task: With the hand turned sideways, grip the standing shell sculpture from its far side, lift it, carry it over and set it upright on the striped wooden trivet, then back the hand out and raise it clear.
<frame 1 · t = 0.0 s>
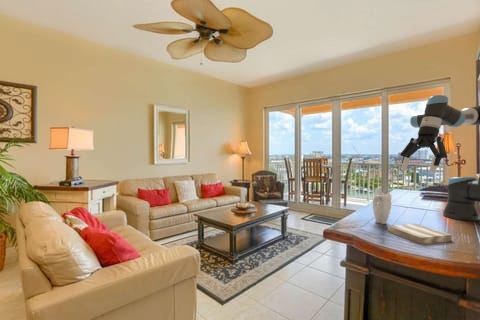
hand: (416, 171, 111), 28 cm above the table, tool tilted 20°, fingers open, 13 cm apart
striped wooden trivet: (417, 235, 106), on the table
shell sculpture: (381, 223, 125), on the table
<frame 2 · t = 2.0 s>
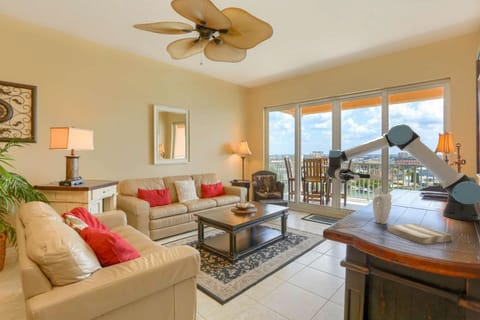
hand: (369, 178, 133), 22 cm above the table, tool horizontal, fingers open, 13 cm apart
nothing on the table moved.
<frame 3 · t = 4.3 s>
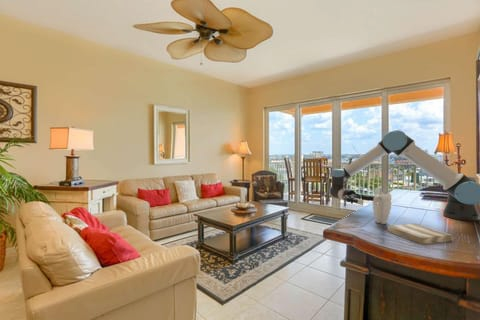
hand: (373, 202, 130), 10 cm above the table, tool horizontal, fingers open, 13 cm apart
nothing on the table moved.
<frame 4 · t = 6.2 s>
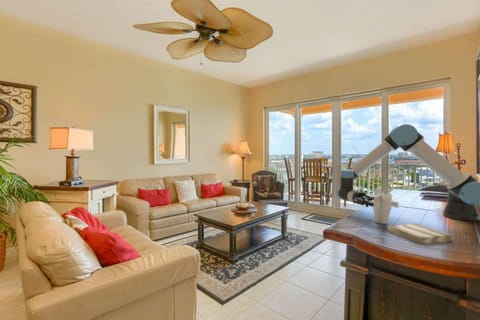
hand: (388, 205, 121), 10 cm above the table, tool horizontal, fingers closed on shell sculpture, 10 cm apart
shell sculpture: (381, 223, 125), on the table, touching gripper
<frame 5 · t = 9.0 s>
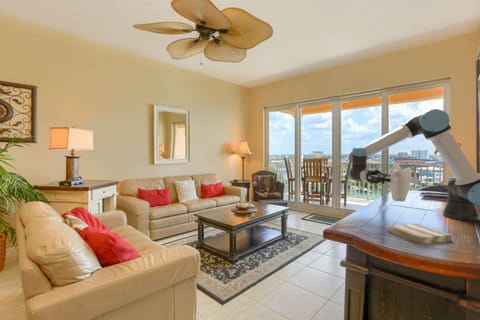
hand: (407, 180, 109), 24 cm above the table, tool horizontal, fingers closed on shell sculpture, 10 cm apart
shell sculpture: (399, 201, 113), point 14 cm above the table, touching gripper
when the fingers open (14 cm above the table, at t = 12.0 s): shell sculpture drops 1 cm, resting on striped wooden trivet.
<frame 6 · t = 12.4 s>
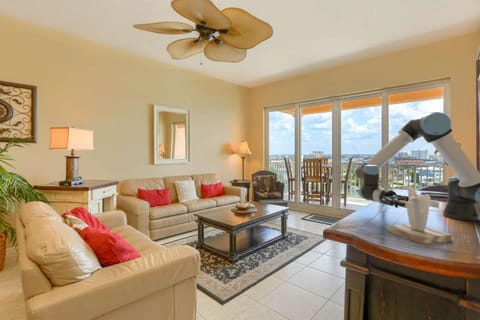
hand: (426, 205, 102), 14 cm above the table, tool horizontal, fingers open, 13 cm apart
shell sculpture: (418, 230, 106), point 2 cm above the table, touching striped wooden trivet
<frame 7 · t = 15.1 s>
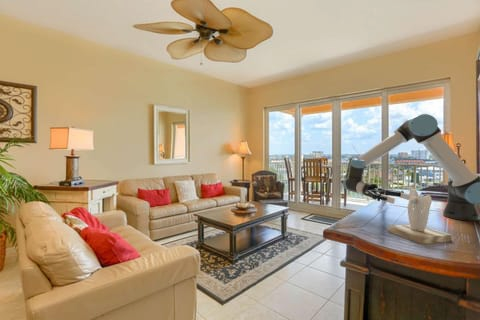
hand: (404, 199, 115), 14 cm above the table, tool horizontal, fingers open, 13 cm apart
nothing on the table moved.
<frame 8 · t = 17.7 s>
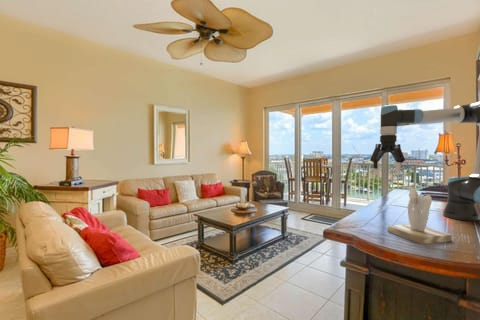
hand: (387, 174, 129), 25 cm above the table, tool pointing down, fingers open, 13 cm apart
nothing on the table moved.
at the end: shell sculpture inside the target area on the striped wooden trivet (0.1 cm from its centre), point 2.3 cm above the striped wooden trivet's base; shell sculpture tilted 0°; the gripper is holding nothing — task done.
